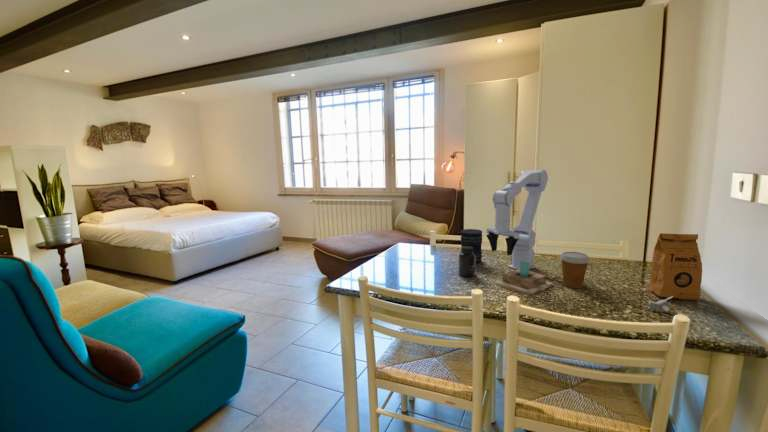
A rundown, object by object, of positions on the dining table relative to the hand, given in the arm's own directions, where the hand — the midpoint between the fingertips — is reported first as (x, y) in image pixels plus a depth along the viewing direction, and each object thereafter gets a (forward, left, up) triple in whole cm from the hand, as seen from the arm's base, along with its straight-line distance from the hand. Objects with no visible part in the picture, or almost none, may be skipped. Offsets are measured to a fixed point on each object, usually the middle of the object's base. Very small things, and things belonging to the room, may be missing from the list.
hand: (501, 252), depth 140 cm
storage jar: (-4, -21, -10) cm, 24 cm away
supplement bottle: (+11, -9, -10) cm, 17 cm away
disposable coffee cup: (-12, +23, -10) cm, 28 cm away
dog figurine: (-12, +50, -10) cm, 53 cm away
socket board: (+2, +12, -10) cm, 16 cm away
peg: (+2, +12, -9) cm, 15 cm away
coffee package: (-29, +48, -10) cm, 57 cm away
